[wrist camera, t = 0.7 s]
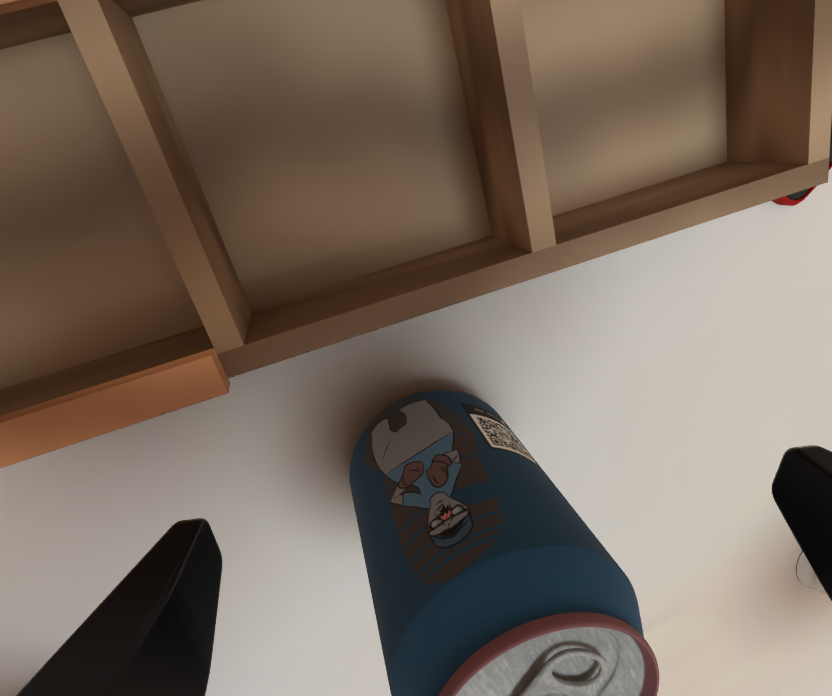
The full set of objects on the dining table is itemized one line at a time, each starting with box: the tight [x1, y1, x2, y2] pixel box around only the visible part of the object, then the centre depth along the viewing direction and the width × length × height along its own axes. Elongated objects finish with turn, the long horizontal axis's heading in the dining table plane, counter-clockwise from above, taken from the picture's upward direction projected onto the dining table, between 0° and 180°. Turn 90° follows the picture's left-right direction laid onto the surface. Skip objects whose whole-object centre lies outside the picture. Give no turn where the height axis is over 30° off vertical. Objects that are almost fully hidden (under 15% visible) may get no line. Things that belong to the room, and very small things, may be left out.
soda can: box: [350, 390, 659, 696], centre depth 18 cm, size 7×7×12 cm
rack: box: [0, 0, 832, 468], centre depth 16 cm, size 11×30×5 cm, turn 105°
